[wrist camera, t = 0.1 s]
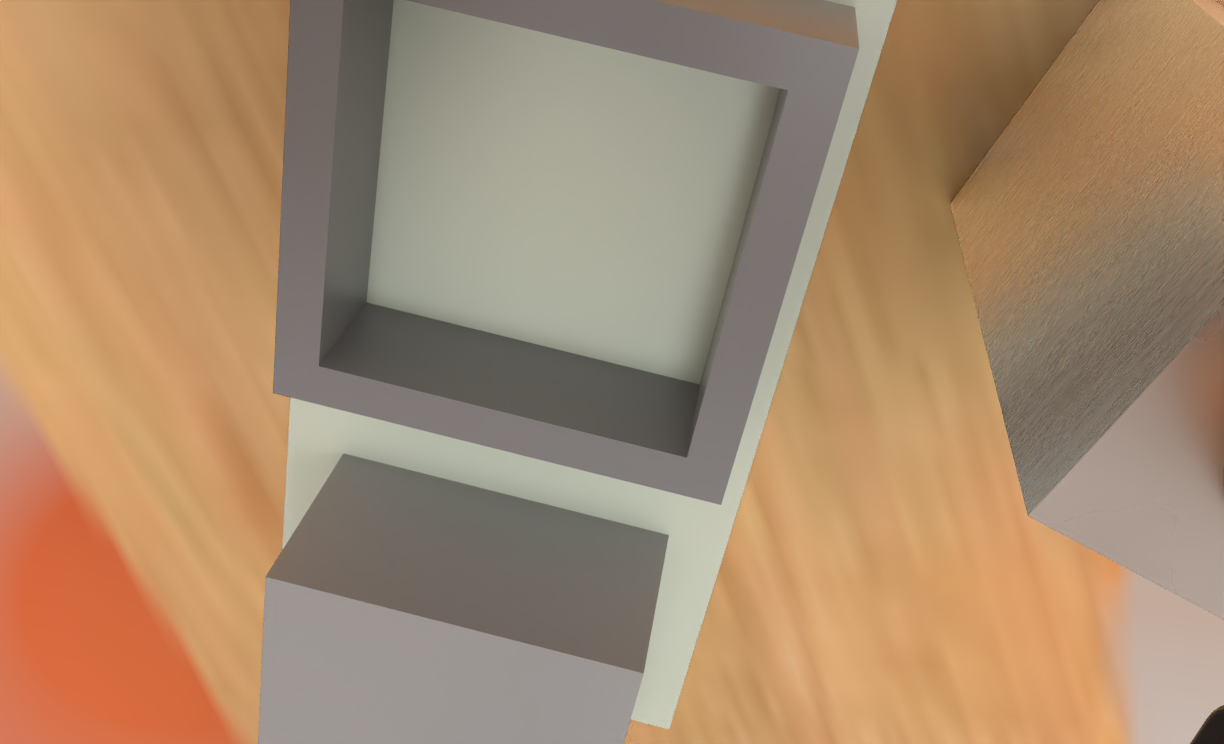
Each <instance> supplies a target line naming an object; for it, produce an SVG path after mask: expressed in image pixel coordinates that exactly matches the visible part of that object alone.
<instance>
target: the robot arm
mask: <svg viewBox="0 0 1224 744" xmlns="http://www.w3.org/2000/svg"><path fill="white" fill-rule="evenodd" d="M1190 744H1224V705H1223V706H1220V707H1219V708H1217V709H1216V710H1214V711H1213V712H1212V713H1211V715H1209V717H1208V718H1207V719H1206V721H1205V722H1204V724H1203V725H1202V727H1201V728H1200V730H1199V731H1198V733H1197V734H1196V736H1195V737H1194V739H1193V740H1192V742H1191V743H1190Z"/></svg>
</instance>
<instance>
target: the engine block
mask: <svg viewBox="0 0 1224 744" xmlns="http://www.w3.org/2000/svg"><path fill="white" fill-rule="evenodd" d="M950 206H951V210H952V214H953V218H954V222H955V226H956V230H957V234H958V238H959V242H960V246H961V250H962V254H963V258H964V262H965V266H966V270H967V274H968V278H969V282H970V286H971V290H972V294H973V298H974V302H975V306H976V310H977V314H978V318H979V322H980V326H981V330H982V334H983V338H984V342H985V346H986V350H987V354H988V358H989V362H990V366H991V370H992V374H993V378H994V382H995V386H996V390H997V394H998V398H999V402H1000V406H1001V410H1002V414H1003V418H1004V422H1005V426H1006V430H1007V434H1008V438H1009V442H1010V446H1011V450H1012V454H1013V458H1014V462H1015V466H1016V470H1017V474H1018V478H1019V482H1020V486H1021V490H1022V494H1023V498H1024V502H1025V506H1026V510H1027V514H1028V516H1029V517H1031V518H1033V519H1035V520H1036V521H1038V522H1040V523H1042V524H1044V525H1046V526H1048V527H1050V528H1052V529H1053V530H1055V531H1057V532H1059V533H1061V534H1063V535H1065V536H1067V537H1069V538H1070V539H1072V540H1074V541H1076V542H1078V543H1080V544H1082V545H1084V546H1086V547H1087V548H1089V549H1091V550H1093V551H1095V552H1097V553H1099V554H1101V555H1103V556H1104V557H1106V558H1108V559H1110V560H1112V561H1114V562H1116V563H1118V564H1119V565H1121V566H1123V567H1125V568H1127V569H1129V570H1131V571H1133V572H1135V573H1136V574H1138V575H1140V576H1142V577H1144V578H1146V579H1148V580H1150V581H1152V582H1153V583H1156V584H1157V585H1159V586H1161V587H1163V588H1165V589H1167V590H1169V591H1171V592H1172V593H1174V594H1176V595H1178V596H1180V597H1182V598H1184V599H1186V600H1187V601H1189V602H1191V603H1193V604H1195V605H1197V606H1199V607H1201V608H1203V609H1205V610H1206V611H1208V612H1210V613H1212V614H1214V615H1216V616H1218V617H1220V618H1222V619H1223V620H1224V6H1223V5H1221V4H1220V3H1218V2H1216V1H1215V0H1099V1H1098V3H1097V4H1096V5H1095V7H1094V8H1093V9H1092V11H1091V12H1090V13H1089V15H1088V16H1087V18H1086V19H1085V20H1084V22H1083V23H1082V24H1081V26H1080V27H1079V28H1078V30H1077V31H1076V33H1075V34H1074V35H1073V37H1072V38H1071V39H1070V41H1069V42H1068V43H1067V45H1066V46H1065V48H1064V49H1063V50H1062V52H1061V53H1060V54H1059V56H1058V57H1057V58H1056V60H1055V61H1054V63H1053V64H1052V65H1051V67H1050V68H1049V69H1048V71H1047V72H1046V73H1045V75H1044V76H1043V78H1042V79H1041V80H1040V82H1039V83H1038V84H1037V86H1036V87H1035V89H1034V90H1033V91H1032V93H1031V94H1030V95H1029V97H1028V98H1027V99H1026V101H1025V102H1024V104H1023V105H1022V106H1021V108H1020V109H1019V110H1018V112H1017V113H1016V114H1015V116H1014V117H1013V119H1012V120H1011V121H1010V123H1009V124H1008V125H1007V127H1006V128H1005V129H1004V131H1003V132H1002V134H1001V135H1000V136H999V138H998V139H997V140H996V142H995V143H994V144H993V146H992V147H991V149H990V150H989V151H988V153H987V154H986V155H985V157H984V158H983V159H982V161H981V162H980V164H979V165H978V166H977V168H976V169H975V170H974V172H973V173H972V174H971V176H970V177H969V179H968V180H967V181H966V183H965V184H964V185H963V187H962V188H961V189H960V191H959V192H958V194H957V195H956V196H955V198H954V199H953V200H952V202H951V203H950Z"/></svg>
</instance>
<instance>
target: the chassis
mask: <svg viewBox="0 0 1224 744" xmlns="http://www.w3.org/2000/svg"><path fill="white" fill-rule="evenodd" d="M896 3H897V0H291V1H290V23H289V46H288V68H287V91H286V113H285V135H284V158H283V180H282V203H281V225H280V248H279V270H278V293H277V315H276V337H275V360H274V382H273V393H274V394H278V395H283V396H287V397H291V398H290V417H289V435H288V454H287V472H286V491H285V509H284V528H283V546H282V552H281V553H280V555H279V556H278V558H277V560H276V561H275V563H274V564H273V566H272V568H271V569H270V571H269V572H268V574H267V576H266V581H265V603H264V625H263V648H262V670H261V692H260V714H259V736H258V744H624V741H625V737H626V734H627V730H628V727H629V723H630V720H634V721H638V722H642V723H646V724H650V725H654V726H658V727H661V728H665V729H669V728H670V725H671V721H672V718H673V715H674V712H675V709H676V706H677V702H678V699H679V696H680V693H681V690H682V686H683V683H684V680H685V677H686V674H687V670H688V667H689V664H690V661H691V658H692V654H693V651H694V648H695V645H696V642H697V638H698V635H699V632H700V629H701V626H702V622H703V619H704V616H705V613H706V610H707V607H708V603H709V600H710V597H711V594H712V591H713V587H714V584H715V581H716V578H717V575H718V571H719V568H720V565H721V562H722V559H723V555H724V552H725V549H726V546H727V543H728V539H729V536H730V533H731V530H732V527H733V523H734V520H735V517H736V514H737V511H738V508H739V504H740V501H741V498H742V495H743V492H744V488H745V485H746V482H747V479H748V476H749V472H750V469H751V466H752V463H753V460H754V456H755V453H756V450H757V447H758V444H759V440H760V437H761V434H762V431H763V428H764V424H765V421H766V418H767V415H768V412H769V409H770V405H771V402H772V399H773V396H774V393H775V389H776V386H777V383H778V380H779V377H780V373H781V370H782V367H783V364H784V361H785V357H786V354H787V351H788V348H789V345H790V341H791V338H792V335H793V332H794V329H795V325H796V322H797V319H798V316H799V313H800V310H801V306H802V303H803V300H804V297H805V294H806V290H807V287H808V284H809V281H810V278H811V274H812V271H813V268H814V265H815V262H816V258H817V255H818V252H819V249H820V246H821V242H822V239H823V236H824V233H825V230H826V226H827V223H828V220H829V217H830V214H831V211H832V207H833V204H834V201H835V198H836V195H837V191H838V188H839V185H840V182H841V179H842V175H843V172H844V169H845V166H846V163H847V159H848V156H849V153H850V150H851V147H852V143H853V140H854V137H855V134H856V131H857V127H858V124H859V121H860V118H861V115H862V111H863V108H864V105H865V102H866V99H867V96H868V92H869V89H870V86H871V83H872V80H873V76H874V73H875V70H876V67H877V64H878V60H879V57H880V54H881V51H882V48H883V44H884V41H885V38H886V35H887V32H888V28H889V25H890V22H891V19H892V16H893V12H894V9H895V6H896Z"/></svg>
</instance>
